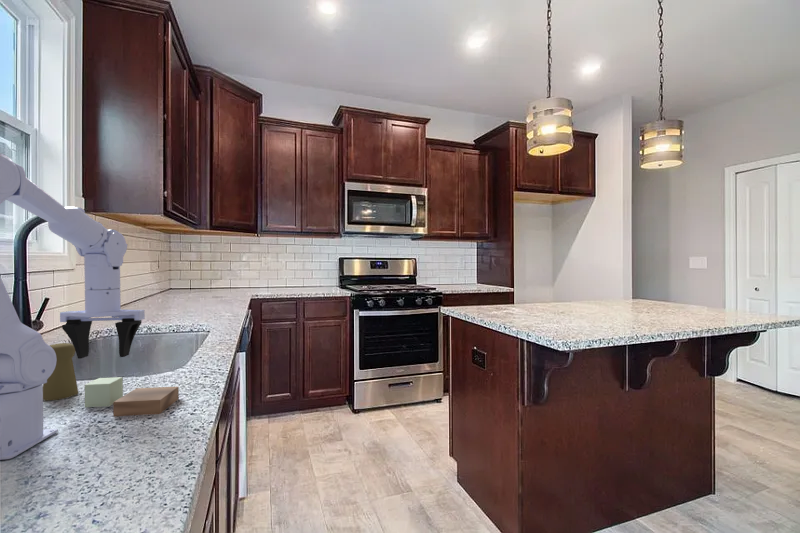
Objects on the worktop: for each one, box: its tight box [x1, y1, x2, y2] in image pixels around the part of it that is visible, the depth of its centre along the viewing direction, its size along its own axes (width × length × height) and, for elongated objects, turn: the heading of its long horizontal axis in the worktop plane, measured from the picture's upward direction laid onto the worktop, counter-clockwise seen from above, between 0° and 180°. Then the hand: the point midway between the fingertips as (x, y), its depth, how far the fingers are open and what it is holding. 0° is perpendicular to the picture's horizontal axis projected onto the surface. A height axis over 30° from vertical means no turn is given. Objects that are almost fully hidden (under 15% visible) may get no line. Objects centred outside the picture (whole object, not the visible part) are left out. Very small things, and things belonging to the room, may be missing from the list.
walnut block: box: [112, 386, 180, 417], centre depth 76 cm, size 8×8×3 cm
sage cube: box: [84, 376, 124, 408], centre depth 79 cm, size 4×4×4 cm
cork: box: [43, 342, 79, 402], centre depth 83 cm, size 6×6×11 cm
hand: (103, 356), depth 79 cm, fingers open, 7 cm apart
